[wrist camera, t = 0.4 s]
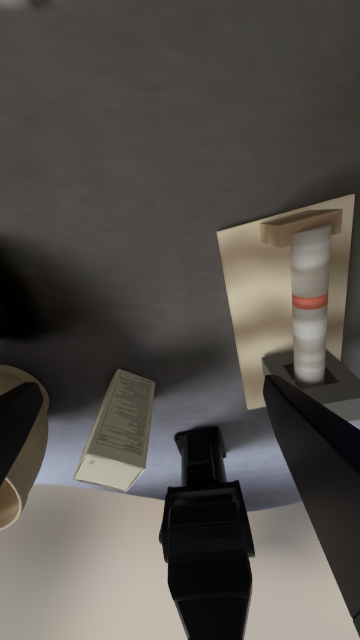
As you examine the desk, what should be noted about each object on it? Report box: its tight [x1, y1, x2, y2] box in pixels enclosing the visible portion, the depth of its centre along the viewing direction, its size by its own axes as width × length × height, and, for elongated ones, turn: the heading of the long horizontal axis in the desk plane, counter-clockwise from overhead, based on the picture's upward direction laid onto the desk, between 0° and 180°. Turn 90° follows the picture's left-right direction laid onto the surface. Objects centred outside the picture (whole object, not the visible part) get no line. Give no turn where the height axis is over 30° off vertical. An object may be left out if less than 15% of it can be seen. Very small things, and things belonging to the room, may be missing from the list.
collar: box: [261, 349, 360, 421], centre depth 20 cm, size 2×6×7 cm, turn 105°
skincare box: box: [73, 369, 155, 492], centre depth 22 cm, size 5×4×10 cm
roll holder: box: [217, 194, 355, 410], centre depth 20 cm, size 22×11×6 cm, turn 15°
